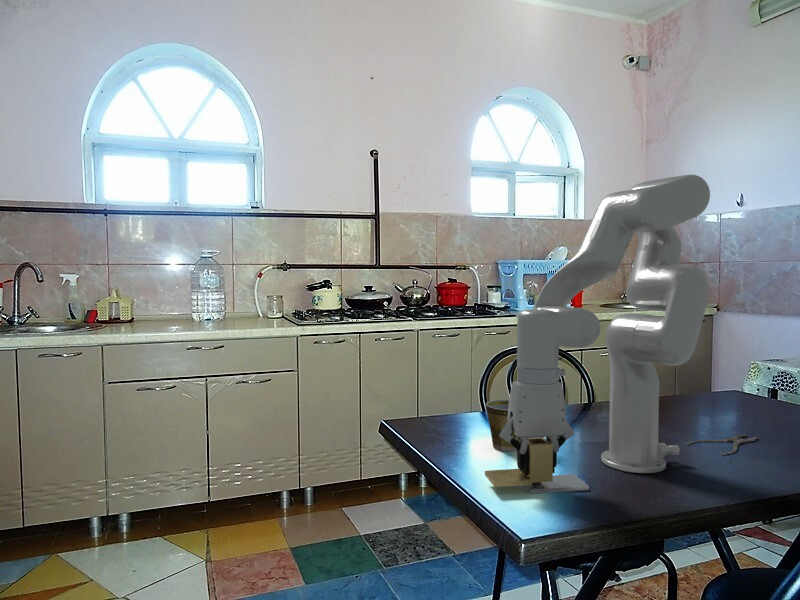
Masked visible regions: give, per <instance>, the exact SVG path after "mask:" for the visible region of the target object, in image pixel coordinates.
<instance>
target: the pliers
mask: <svg viewBox="0 0 800 600" xmlns="http://www.w3.org/2000/svg"><path fill="white" fill-rule="evenodd" d="M746 435H747V434H746V433H745V434H741V435H740V434H739V435H735V436H730V437H727V438H724V439H697V440H691V441H689V442H686V443H685V446H686V445H688V446H690V444H691V445H693V444H692V443H694V444H698V442H704V443H711V442H727V443H732V448H733V449H732V450H731V451H729V452H723V453H720V456H721V455H726V456H728V455H727V454H731V455H733V454H732V453H734V452H736V451H737V450H739V446H740V445H739V444H741V443H744V444H746V443H745V442H751V441H755V440H756V439H758V440H759V437H757V436H754V437H750V438H749V437H748V438H747V436H746ZM745 436H746V437H745ZM742 437H745V438H746V439H745V438H742ZM740 438H742V439H740ZM730 441H732V442H730ZM756 441H757V440H756ZM756 441H755V442H756ZM733 442H734V443H733ZM751 443H752V442H751ZM738 445H739V446H738ZM741 445H742V444H741ZM737 452H738V451H737ZM737 452H736V453H737ZM734 454H735V453H734Z"/></svg>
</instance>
